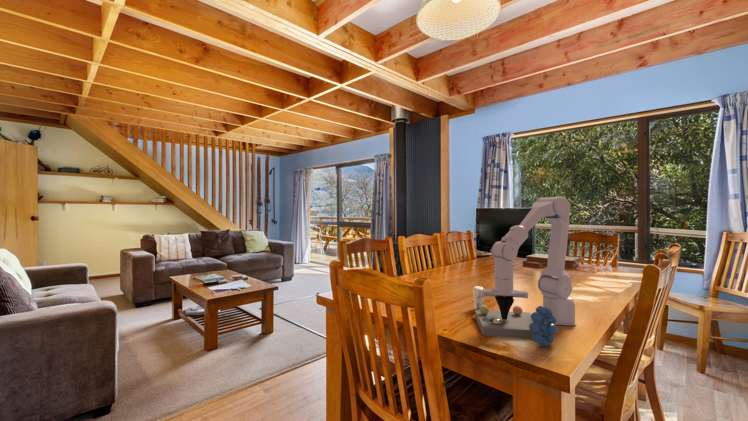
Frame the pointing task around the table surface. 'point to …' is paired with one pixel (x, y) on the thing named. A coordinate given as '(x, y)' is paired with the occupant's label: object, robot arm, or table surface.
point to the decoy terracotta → (517, 310)
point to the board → (505, 324)
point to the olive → (484, 309)
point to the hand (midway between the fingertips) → (504, 318)
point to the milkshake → (478, 297)
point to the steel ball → (497, 321)
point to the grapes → (543, 326)
